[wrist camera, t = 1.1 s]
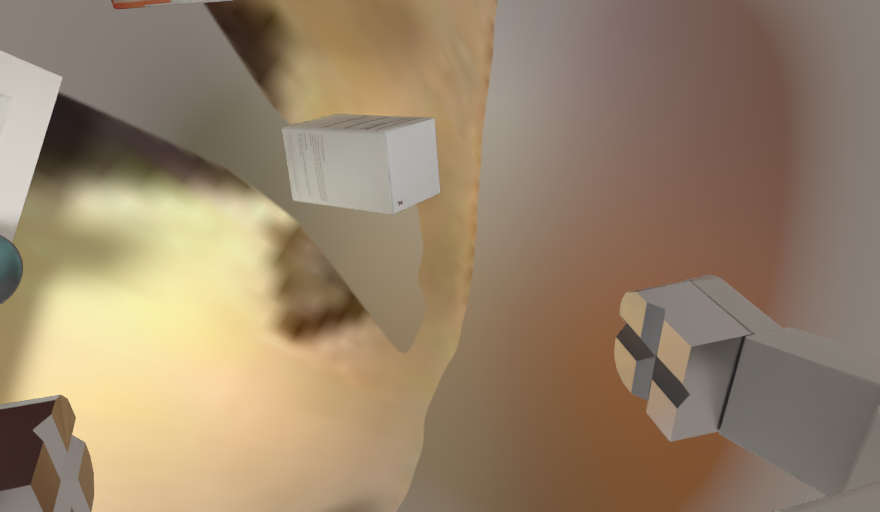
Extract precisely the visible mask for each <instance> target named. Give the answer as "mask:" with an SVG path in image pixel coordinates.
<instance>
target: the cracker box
mask: <svg viewBox="0 0 880 512" xmlns="http://www.w3.org/2000/svg"><path fill="white" fill-rule="evenodd" d="M219 1H231V0H112V3H113V7H114V8H115V9H127V8H140V7H153V6H164V5H177V4H190V3H206V2H219Z"/></svg>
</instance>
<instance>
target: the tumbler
mask: <svg viewBox="0 0 880 512" xmlns="http://www.w3.org/2000/svg"><path fill="white" fill-rule="evenodd" d="M22 273H23V264H22V259H21V256H20V253H19V251H18V250H17V248H16V247H15V246H14V244H13V243H12V242H11V241H9V240H8V239H7V238H5V237H3V236H2V235H0V304H1V303H3V302H4V301H6V300H7V299H8V298H9V297H10V296H11V295H12V294H13V293H14V292H15V290H16V289H17V287H18V285H19V283H20V281H21V278H22Z"/></svg>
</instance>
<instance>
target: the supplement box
mask: <svg viewBox="0 0 880 512" xmlns="http://www.w3.org/2000/svg"><path fill="white" fill-rule="evenodd" d="M282 135H283V141H284V147H285V153H286V159H287V167H288V173H289V180H290V185H291V192H292V199H293V201H298V202H305V203H313V204H320V205H327V206H334V207H340V208H348V209H355V210H361V211H369V212H376V213H382V214H389V215H394V214H396V213H398V212H400V211H402V210H404V209H406V208H409V207H411V206H413V205H415V204H417V203H420V202H422V201H424V200H426V199H428V198H431V197H433V196H435V195H437V194H439V193H440V182H439V169H438V156H437V143H436V129H435V118H427V117H394V116H370V115H349V114H333V115H330V116H326V117H322V118H318V119H314V120H310V121H306V122H302V123H298V124H294V125H290V126H286V127H283V128H282Z"/></svg>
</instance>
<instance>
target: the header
mask: <svg viewBox="0 0 880 512" xmlns="http://www.w3.org/2000/svg"><path fill="white" fill-rule="evenodd" d="M62 78H63V77H61V76H59V75H57V74H54V73H52V72H49V71H47V70H45V69H42V68H40V67H38V66H36V65H33V64H31V63H29V62H26V61H24V60H22V59H19V58H17V57H15V56H12V55H10V54H8V53H5V52H3V51H1V50H0V235H2V236H3V237H5V238H7V239H8V240H9V241H11V242H13V239H14V235H15V232H16V229H17V225H18V222H19V219H20V216H21V212H22V209H23V206H24V203H25V199H26V196H27V193H28V190H29V186H30V183H31V180H32V176H33V173H34V170H35V167H36V163H37V160H38V157H39V154H40V150H41V147H42V144H43V140H44V137H45V134H46V131H47V127H48V124H49V121H50V118H51V114H52V111H53V108H54V105H55V101H56V98H57V95H58V91H59V88H60V84H61V81H62Z"/></svg>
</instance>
